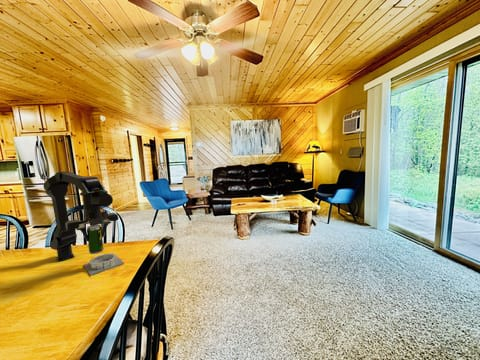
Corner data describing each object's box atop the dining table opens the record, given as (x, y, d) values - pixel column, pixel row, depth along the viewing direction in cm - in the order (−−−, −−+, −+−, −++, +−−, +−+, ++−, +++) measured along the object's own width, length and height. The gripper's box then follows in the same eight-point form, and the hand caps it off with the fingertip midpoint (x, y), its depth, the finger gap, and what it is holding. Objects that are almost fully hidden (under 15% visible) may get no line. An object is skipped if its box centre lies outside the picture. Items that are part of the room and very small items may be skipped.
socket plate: (83, 265, 97) (83, 264, 97) (115, 255, 106) (114, 254, 106) (90, 276, 88) (90, 274, 88) (124, 264, 97) (123, 262, 97)
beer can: (89, 255, 91) (86, 229, 90) (89, 251, 95) (86, 226, 94) (103, 252, 94) (101, 226, 93) (103, 248, 98) (101, 223, 97)
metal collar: (87, 264, 97) (87, 259, 96) (112, 256, 104) (112, 251, 104) (93, 272, 90) (92, 266, 89) (119, 262, 97) (119, 257, 97)
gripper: (67, 212, 80) (71, 251, 82) (120, 204, 93) (123, 237, 95) (63, 208, 88) (67, 243, 90) (113, 200, 101) (116, 231, 103)
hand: (95, 239), depth 94 cm, fingers closed on beer can, 5 cm apart
